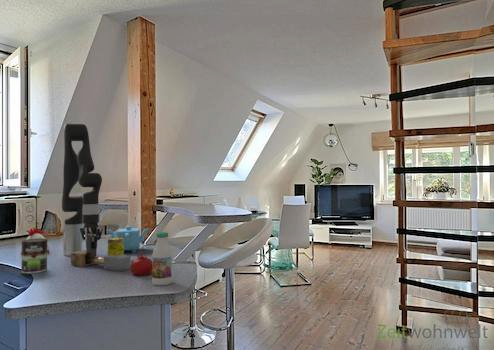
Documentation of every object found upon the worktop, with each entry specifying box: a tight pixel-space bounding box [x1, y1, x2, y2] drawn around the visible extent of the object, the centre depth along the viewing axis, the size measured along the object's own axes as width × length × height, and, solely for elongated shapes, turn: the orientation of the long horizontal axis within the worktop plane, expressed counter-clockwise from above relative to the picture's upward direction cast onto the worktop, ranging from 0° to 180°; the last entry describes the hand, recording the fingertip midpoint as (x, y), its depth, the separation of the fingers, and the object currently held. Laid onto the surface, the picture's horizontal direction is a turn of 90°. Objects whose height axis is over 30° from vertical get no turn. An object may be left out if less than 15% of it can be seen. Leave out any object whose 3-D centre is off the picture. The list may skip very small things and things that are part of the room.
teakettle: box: [106, 225, 150, 253], centre depth 210 cm, size 19×19×15 cm
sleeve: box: [103, 254, 132, 272], centre depth 166 cm, size 11×6×6 cm, turn 63°
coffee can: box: [20, 238, 49, 275], centre depth 163 cm, size 10×10×14 cm
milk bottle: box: [151, 231, 173, 286], centre depth 141 cm, size 8×8×20 cm
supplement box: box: [107, 238, 125, 256], centre depth 187 cm, size 6×6×11 cm
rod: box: [85, 236, 104, 266], centre depth 171 cm, size 21×3×13 cm, turn 63°
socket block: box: [70, 249, 95, 268], centre depth 176 cm, size 8×8×6 cm
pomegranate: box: [129, 252, 152, 276], centre depth 156 cm, size 10×10×9 cm
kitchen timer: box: [20, 227, 50, 255], centre depth 204 cm, size 14×14×15 cm
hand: (91, 248), depth 173 cm, fingers closed on rod, 3 cm apart
